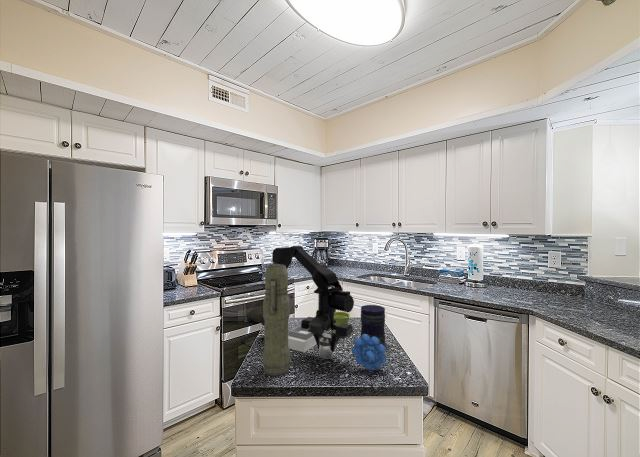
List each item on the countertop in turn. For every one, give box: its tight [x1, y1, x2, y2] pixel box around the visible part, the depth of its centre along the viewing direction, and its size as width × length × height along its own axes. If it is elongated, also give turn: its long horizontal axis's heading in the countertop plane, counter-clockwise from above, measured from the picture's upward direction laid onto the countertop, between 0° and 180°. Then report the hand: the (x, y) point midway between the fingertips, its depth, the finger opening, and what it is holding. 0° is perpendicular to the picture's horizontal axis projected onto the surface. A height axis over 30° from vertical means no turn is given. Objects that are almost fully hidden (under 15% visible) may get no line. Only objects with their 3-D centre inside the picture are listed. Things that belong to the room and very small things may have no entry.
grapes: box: [351, 334, 388, 371], centre depth 94 cm, size 12×7×12 cm, turn 87°
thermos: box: [262, 263, 291, 377], centre depth 96 cm, size 9×12×35 cm
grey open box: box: [288, 324, 317, 353], centre depth 116 cm, size 9×13×6 cm
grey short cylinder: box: [318, 333, 334, 360], centre depth 103 cm, size 6×6×7 cm
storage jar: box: [360, 304, 386, 346], centre depth 116 cm, size 10×10×15 cm
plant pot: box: [331, 311, 351, 334], centre depth 128 cm, size 9×9×9 cm
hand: (326, 350), depth 103 cm, fingers closed on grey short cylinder, 5 cm apart
